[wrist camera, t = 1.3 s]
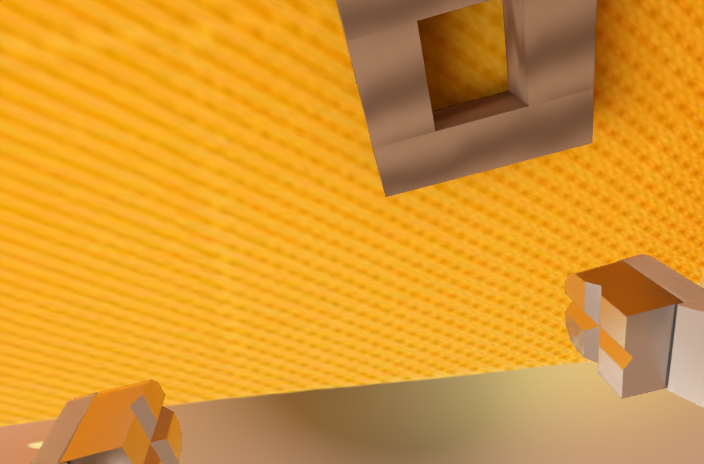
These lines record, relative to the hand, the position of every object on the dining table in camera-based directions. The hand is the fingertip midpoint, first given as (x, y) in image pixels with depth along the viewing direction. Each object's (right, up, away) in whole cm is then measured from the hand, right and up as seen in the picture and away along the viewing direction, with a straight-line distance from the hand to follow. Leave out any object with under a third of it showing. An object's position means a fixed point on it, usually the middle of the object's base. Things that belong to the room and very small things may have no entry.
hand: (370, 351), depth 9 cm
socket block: (+10, +19, +34) cm, 40 cm away
